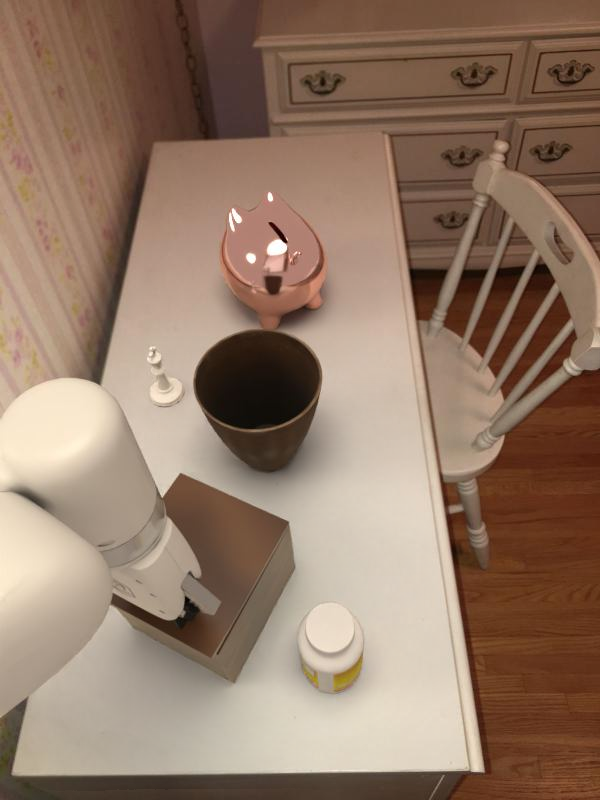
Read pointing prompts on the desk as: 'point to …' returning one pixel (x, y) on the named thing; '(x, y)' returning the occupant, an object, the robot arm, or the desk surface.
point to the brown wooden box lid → (215, 558)
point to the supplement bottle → (331, 647)
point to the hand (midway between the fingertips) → (162, 599)
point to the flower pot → (259, 394)
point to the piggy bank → (272, 259)
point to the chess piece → (163, 382)
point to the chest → (239, 617)
